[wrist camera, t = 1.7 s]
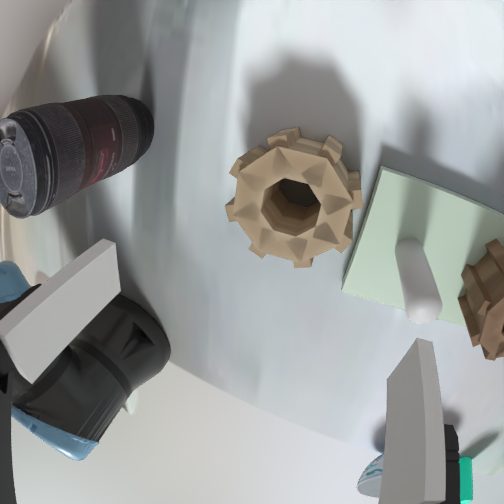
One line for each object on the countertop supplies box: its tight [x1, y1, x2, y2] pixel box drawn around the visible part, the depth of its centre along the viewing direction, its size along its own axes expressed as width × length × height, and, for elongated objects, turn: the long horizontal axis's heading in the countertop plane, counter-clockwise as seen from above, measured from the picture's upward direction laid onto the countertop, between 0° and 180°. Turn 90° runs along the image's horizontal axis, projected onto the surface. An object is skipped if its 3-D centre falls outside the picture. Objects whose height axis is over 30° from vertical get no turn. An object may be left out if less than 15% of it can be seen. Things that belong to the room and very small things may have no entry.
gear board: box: [341, 166, 504, 327], centre depth 20 cm, size 21×12×10 cm, turn 81°
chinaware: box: [356, 453, 384, 498], centre depth 38 cm, size 15×15×8 cm
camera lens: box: [0, 95, 154, 219], centre depth 22 cm, size 8×8×15 cm
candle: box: [459, 457, 473, 504], centre depth 35 cm, size 6×6×12 cm
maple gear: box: [225, 127, 363, 268], centre depth 23 cm, size 10×10×6 cm
